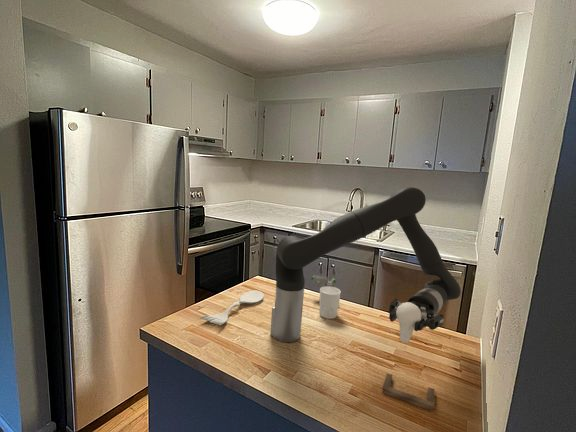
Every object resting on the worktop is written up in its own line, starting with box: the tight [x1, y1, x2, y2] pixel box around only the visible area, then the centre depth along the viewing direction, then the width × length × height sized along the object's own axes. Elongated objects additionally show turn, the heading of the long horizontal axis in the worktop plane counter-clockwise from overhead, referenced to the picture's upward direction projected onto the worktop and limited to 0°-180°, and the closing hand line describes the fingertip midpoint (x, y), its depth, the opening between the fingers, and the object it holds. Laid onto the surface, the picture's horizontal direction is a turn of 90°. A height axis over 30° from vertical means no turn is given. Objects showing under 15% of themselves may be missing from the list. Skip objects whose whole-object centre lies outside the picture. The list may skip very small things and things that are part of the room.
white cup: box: [318, 286, 342, 320], centre depth 119 cm, size 8×8×10 cm
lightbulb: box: [396, 301, 422, 344], centre depth 81 cm, size 6×6×11 cm
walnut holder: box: [381, 372, 435, 412], centre depth 80 cm, size 12×7×1 cm, turn 64°
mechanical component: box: [310, 274, 337, 289], centre depth 133 cm, size 3×10×10 cm, turn 78°
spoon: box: [199, 290, 265, 326], centre depth 119 cm, size 9×32×4 cm, turn 154°
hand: (403, 322), depth 79 cm, fingers closed on lightbulb, 5 cm apart
